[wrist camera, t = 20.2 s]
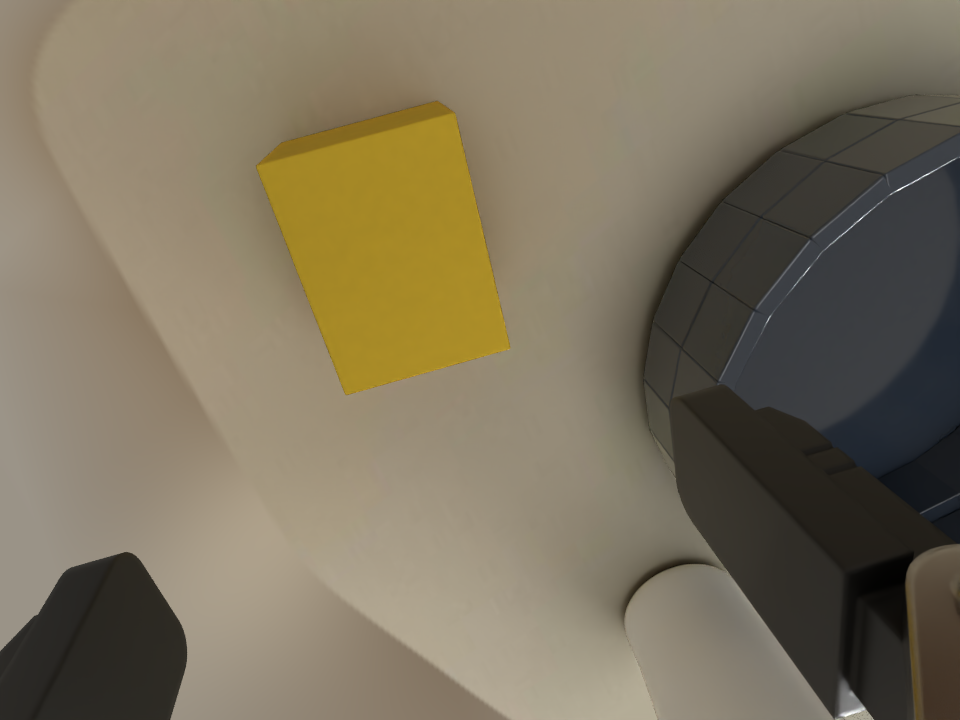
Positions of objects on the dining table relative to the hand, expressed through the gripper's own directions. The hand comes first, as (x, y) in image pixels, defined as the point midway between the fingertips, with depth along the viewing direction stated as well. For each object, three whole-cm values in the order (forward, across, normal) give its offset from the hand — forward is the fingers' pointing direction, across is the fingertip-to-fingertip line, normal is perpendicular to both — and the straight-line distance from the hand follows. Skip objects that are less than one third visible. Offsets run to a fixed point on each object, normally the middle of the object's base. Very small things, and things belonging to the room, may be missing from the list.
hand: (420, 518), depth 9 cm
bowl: (+11, -16, +6) cm, 20 cm away
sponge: (+11, 0, -2) cm, 11 cm away
